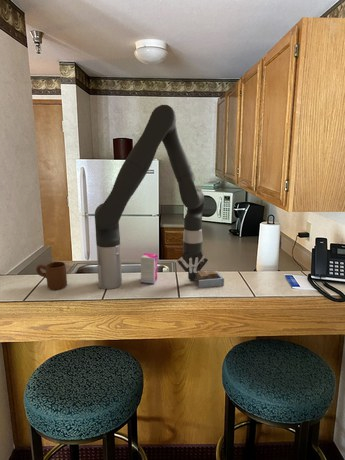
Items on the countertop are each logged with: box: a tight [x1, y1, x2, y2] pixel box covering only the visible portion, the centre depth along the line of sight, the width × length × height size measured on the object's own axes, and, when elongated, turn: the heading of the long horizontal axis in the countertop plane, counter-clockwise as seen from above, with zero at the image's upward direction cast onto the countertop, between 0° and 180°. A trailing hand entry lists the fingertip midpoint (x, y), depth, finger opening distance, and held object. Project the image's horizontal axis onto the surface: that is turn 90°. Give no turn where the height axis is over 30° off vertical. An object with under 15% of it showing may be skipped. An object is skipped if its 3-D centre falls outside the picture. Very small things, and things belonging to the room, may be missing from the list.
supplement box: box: [140, 252, 158, 285], centre depth 137 cm, size 6×6×12 cm
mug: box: [35, 261, 68, 291], centre depth 132 cm, size 12×8×9 cm, turn 83°
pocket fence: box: [194, 270, 225, 289], centre depth 137 cm, size 10×9×3 cm
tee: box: [196, 270, 218, 283], centre depth 137 cm, size 8×6×4 cm
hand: (191, 280), depth 135 cm, fingers closed
